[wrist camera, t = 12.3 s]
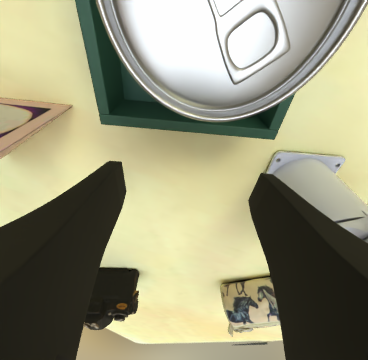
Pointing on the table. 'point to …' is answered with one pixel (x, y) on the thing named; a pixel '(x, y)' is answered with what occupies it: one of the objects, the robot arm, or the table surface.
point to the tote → (145, 104)
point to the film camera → (112, 297)
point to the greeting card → (24, 121)
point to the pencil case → (250, 305)
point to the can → (226, 49)
